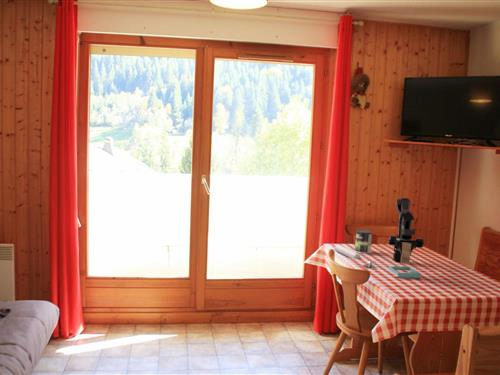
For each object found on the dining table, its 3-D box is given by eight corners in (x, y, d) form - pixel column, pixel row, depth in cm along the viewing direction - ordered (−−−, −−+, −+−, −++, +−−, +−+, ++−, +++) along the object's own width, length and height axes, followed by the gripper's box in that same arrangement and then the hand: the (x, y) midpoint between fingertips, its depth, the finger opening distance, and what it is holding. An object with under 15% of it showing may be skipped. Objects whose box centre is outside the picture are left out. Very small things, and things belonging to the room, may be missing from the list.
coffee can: (361, 254, 331) (362, 232, 329) (351, 250, 340) (353, 229, 339) (373, 253, 335) (375, 232, 334) (364, 249, 345) (365, 229, 343)
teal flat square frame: (409, 271, 294) (410, 266, 294) (420, 278, 281) (420, 273, 281) (388, 271, 292) (388, 266, 292) (397, 278, 279) (398, 272, 279)
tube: (363, 255, 313) (342, 245, 336) (356, 252, 311) (336, 242, 335) (360, 263, 313) (339, 252, 337) (353, 260, 311) (333, 250, 335)
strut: (400, 261, 289) (402, 242, 287) (408, 262, 288) (410, 243, 286) (401, 263, 284) (402, 243, 283) (409, 264, 283) (411, 244, 282)
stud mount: (373, 267, 299) (374, 260, 298) (377, 271, 292) (378, 263, 291) (361, 267, 298) (362, 260, 297) (366, 271, 291) (366, 263, 290)
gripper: (390, 221, 289) (390, 245, 280) (425, 224, 285) (425, 248, 276) (388, 232, 298) (388, 255, 288) (422, 235, 294) (422, 258, 285)
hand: (405, 254), depth 284 cm, fingers closed on strut, 4 cm apart
